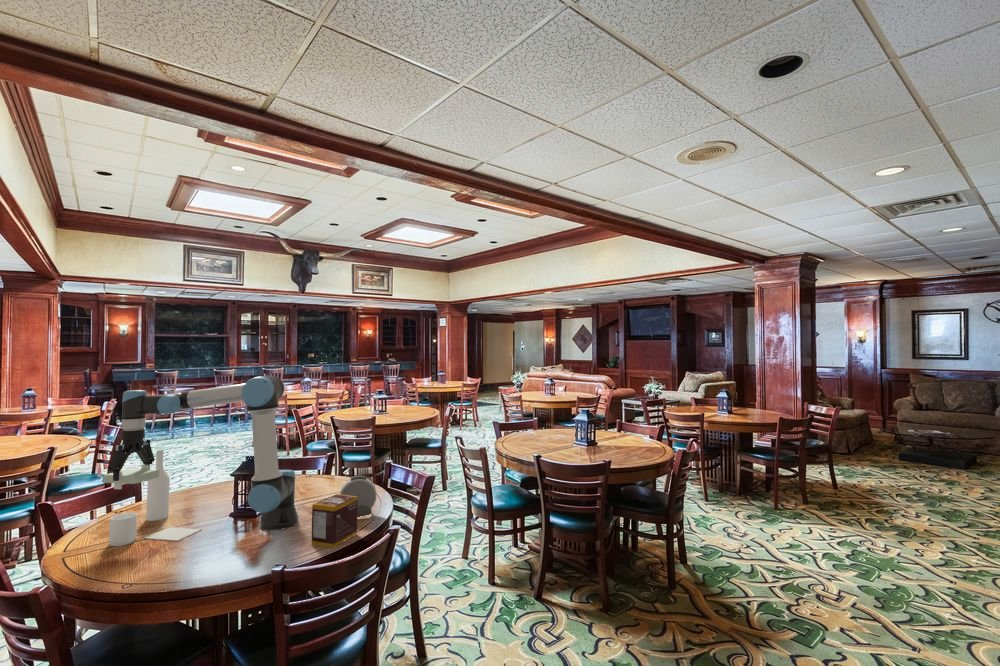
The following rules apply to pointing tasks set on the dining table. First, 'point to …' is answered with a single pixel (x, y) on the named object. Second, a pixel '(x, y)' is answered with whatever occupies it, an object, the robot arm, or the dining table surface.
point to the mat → (173, 534)
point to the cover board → (133, 476)
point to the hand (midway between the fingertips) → (131, 484)
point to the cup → (122, 529)
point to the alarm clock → (361, 493)
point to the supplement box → (334, 520)
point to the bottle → (158, 492)
